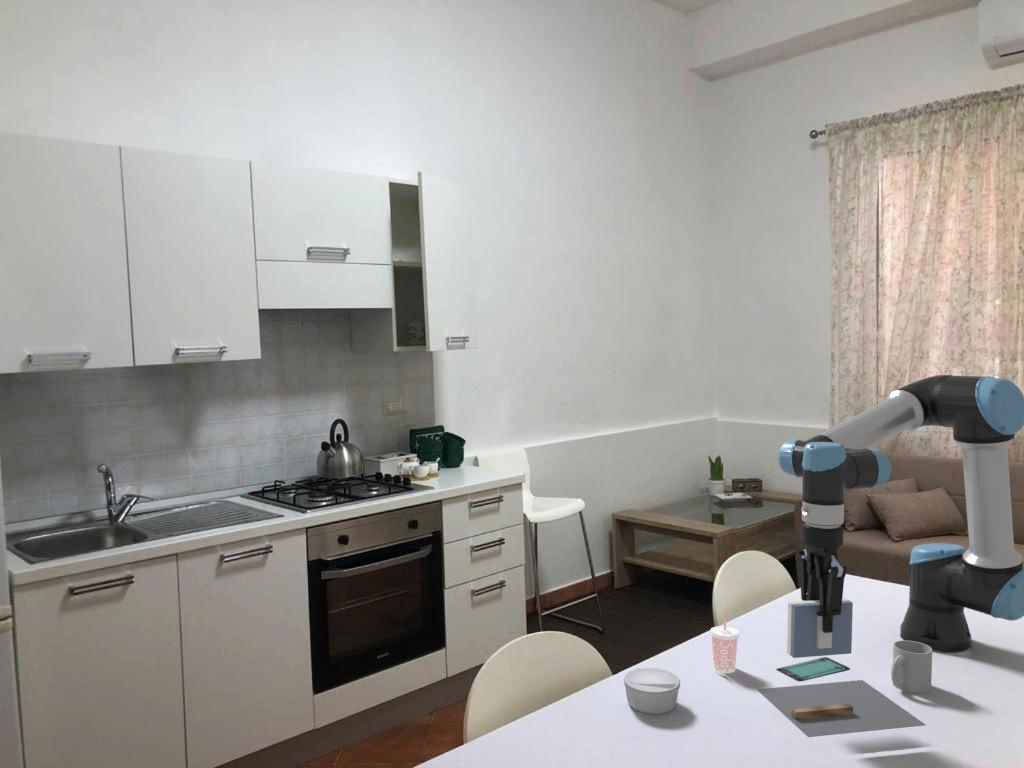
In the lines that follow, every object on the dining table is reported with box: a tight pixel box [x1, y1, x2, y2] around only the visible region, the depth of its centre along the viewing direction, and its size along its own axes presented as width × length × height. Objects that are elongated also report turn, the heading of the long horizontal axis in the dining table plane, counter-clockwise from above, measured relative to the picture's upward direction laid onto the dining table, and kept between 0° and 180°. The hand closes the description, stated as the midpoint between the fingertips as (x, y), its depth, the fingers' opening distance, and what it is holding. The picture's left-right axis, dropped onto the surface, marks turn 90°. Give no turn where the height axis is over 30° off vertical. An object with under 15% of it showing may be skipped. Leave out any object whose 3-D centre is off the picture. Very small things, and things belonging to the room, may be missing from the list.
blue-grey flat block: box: [786, 597, 854, 659], centre depth 158 cm, size 12×2×10 cm, turn 100°
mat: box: [756, 679, 927, 738], centre depth 161 cm, size 24×20×1 cm
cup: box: [890, 639, 933, 695], centre depth 169 cm, size 7×10×9 cm
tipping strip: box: [791, 704, 853, 720], centre depth 157 cm, size 12×2×2 cm, turn 100°
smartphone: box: [776, 656, 850, 682], centre depth 179 cm, size 7×1×15 cm
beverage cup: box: [710, 607, 740, 676], centre depth 179 cm, size 6×6×14 cm
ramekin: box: [623, 667, 681, 715], centre depth 164 cm, size 11×11×5 cm
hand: (819, 644), depth 158 cm, fingers closed on blue-grey flat block, 2 cm apart
